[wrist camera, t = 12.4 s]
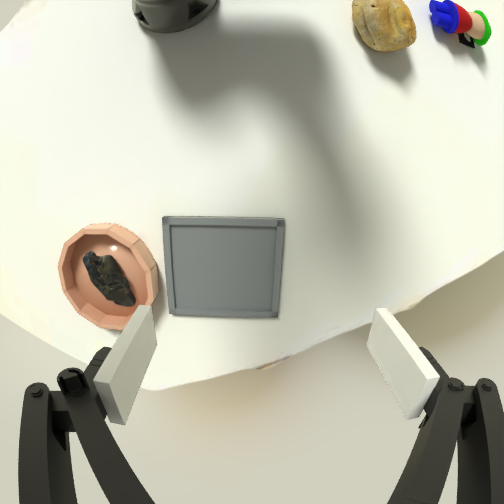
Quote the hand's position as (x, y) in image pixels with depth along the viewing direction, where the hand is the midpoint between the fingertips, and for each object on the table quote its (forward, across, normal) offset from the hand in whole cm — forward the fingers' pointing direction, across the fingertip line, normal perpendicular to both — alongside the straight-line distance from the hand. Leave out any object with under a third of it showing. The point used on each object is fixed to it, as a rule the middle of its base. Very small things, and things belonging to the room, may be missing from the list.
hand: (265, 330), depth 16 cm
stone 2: (+35, +21, +37) cm, 55 cm away
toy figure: (+35, +41, +45) cm, 70 cm away
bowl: (+35, -27, -12) cm, 46 cm away
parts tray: (+35, -5, -10) cm, 36 cm away
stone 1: (+34, -26, -12) cm, 45 cm away
